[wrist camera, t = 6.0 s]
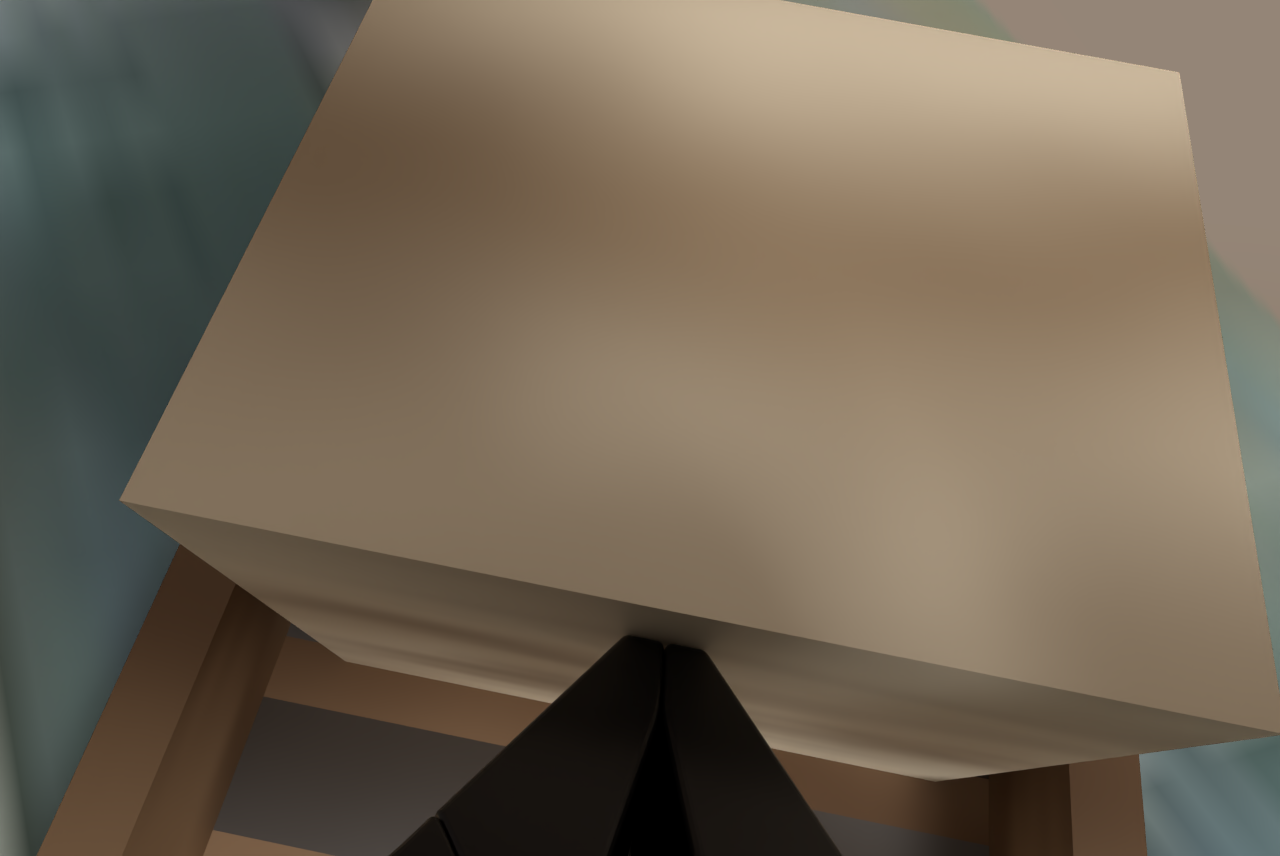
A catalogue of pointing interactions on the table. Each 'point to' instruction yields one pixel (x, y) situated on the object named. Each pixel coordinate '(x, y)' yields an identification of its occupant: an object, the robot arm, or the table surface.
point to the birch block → (742, 381)
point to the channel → (445, 757)
